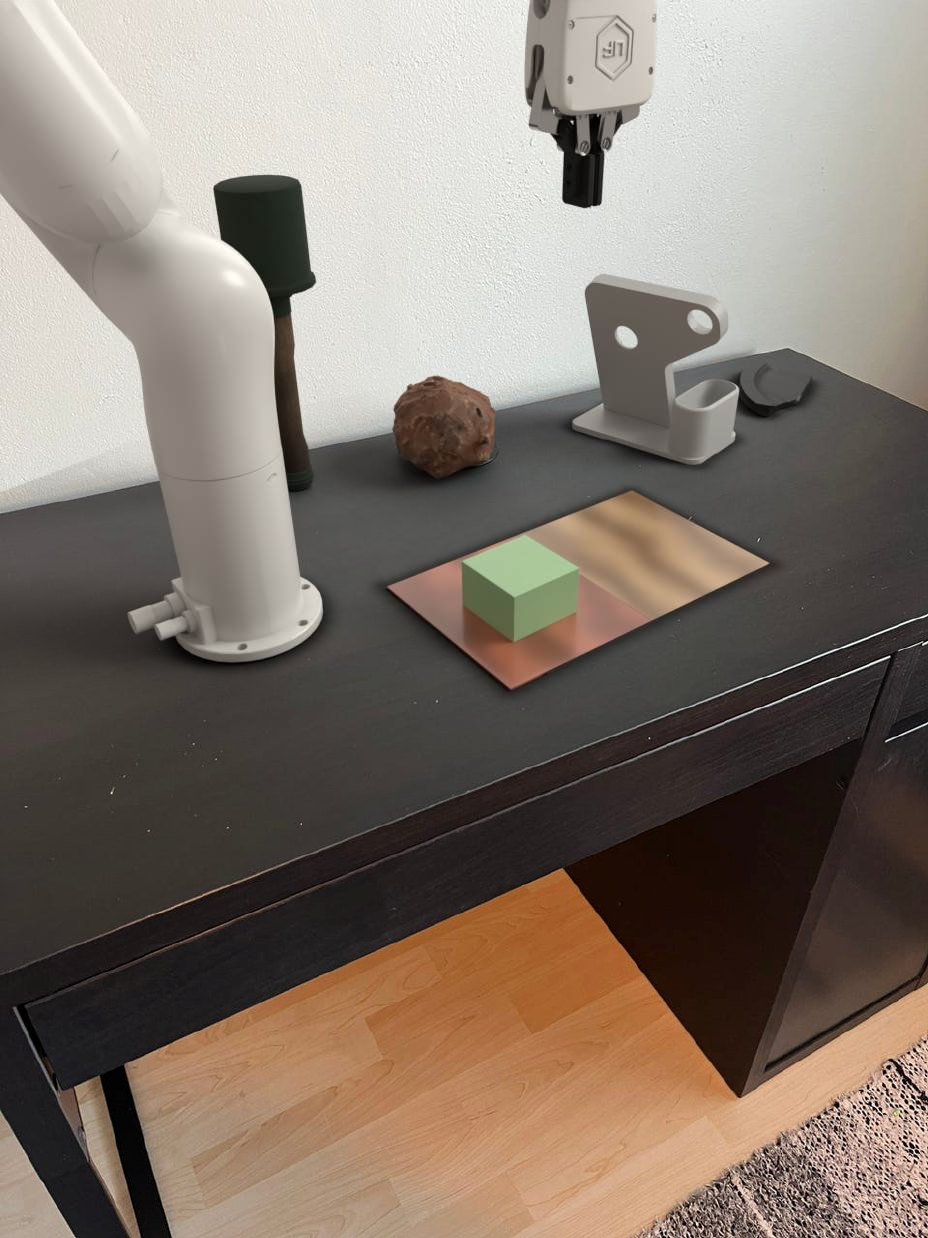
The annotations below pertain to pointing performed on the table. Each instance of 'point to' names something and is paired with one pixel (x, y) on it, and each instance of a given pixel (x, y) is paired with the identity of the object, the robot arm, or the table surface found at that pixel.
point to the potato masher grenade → (274, 285)
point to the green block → (520, 587)
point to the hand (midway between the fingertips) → (581, 203)
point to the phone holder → (656, 371)
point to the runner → (588, 584)
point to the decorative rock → (443, 426)
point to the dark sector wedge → (771, 388)
